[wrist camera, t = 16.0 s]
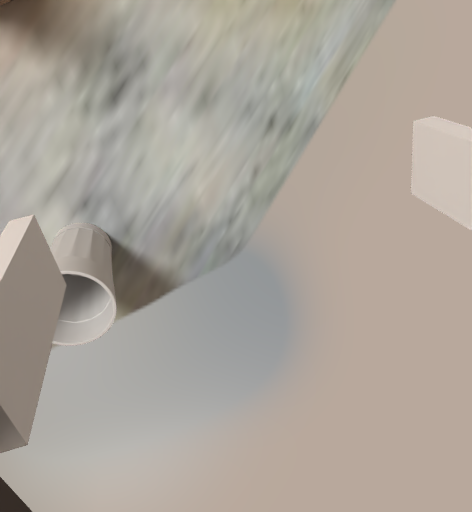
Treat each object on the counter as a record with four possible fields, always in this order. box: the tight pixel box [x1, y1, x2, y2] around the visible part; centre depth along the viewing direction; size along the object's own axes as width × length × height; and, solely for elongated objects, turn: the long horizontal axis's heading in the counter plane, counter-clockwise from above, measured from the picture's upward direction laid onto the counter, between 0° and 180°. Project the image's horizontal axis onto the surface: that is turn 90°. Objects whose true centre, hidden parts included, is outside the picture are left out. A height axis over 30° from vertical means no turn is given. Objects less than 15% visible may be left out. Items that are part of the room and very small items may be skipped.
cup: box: [50, 223, 117, 346], centre depth 43 cm, size 8×8×12 cm
